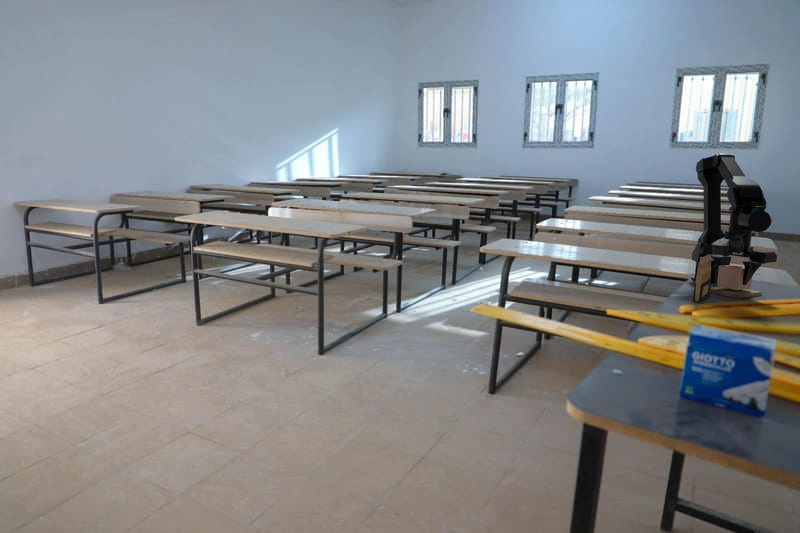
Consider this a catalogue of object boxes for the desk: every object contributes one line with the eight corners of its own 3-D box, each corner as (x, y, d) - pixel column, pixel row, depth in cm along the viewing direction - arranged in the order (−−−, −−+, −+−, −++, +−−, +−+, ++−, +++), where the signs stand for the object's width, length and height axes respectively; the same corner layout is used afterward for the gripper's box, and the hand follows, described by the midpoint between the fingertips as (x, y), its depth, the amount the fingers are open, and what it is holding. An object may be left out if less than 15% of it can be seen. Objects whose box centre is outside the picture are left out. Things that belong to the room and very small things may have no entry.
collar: (716, 286, 158) (719, 265, 157) (730, 284, 161) (733, 264, 160) (736, 290, 153) (739, 269, 152) (750, 288, 155) (753, 267, 154)
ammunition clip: (700, 302, 145) (705, 258, 143) (692, 301, 146) (697, 257, 144) (709, 296, 153) (714, 253, 151) (702, 295, 154) (706, 253, 152)
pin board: (705, 291, 160) (706, 274, 159) (728, 288, 164) (730, 272, 163) (737, 298, 151) (740, 280, 150) (761, 295, 155) (763, 278, 154)
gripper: (691, 226, 159) (685, 278, 162) (754, 232, 142) (747, 291, 145) (717, 225, 164) (711, 276, 166) (781, 231, 147) (774, 288, 150)
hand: (734, 282), depth 157 cm, fingers closed on collar, 6 cm apart
